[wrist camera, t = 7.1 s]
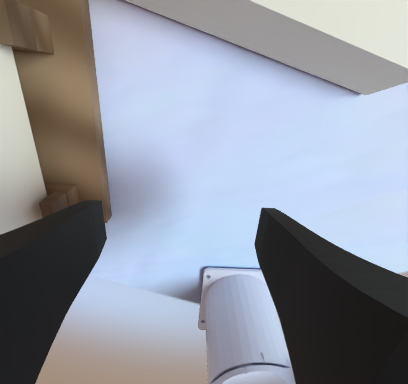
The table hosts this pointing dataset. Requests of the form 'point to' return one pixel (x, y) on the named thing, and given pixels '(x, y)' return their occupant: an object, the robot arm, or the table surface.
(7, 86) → the cream rectangular block
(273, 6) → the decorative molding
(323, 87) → the table surface
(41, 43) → the walnut rack
